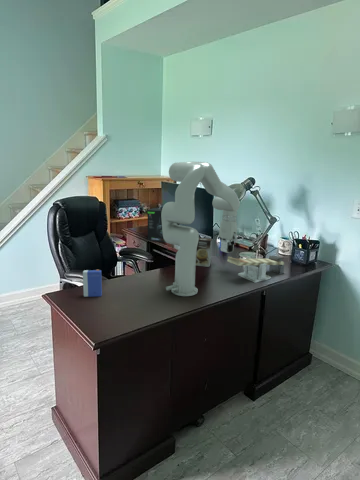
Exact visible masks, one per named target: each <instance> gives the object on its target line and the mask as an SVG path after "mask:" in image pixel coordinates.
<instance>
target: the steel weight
mask: <svg viewBox="0 0 360 480" xmlns="http://www.w3.org/2000/svg"><path fill="white" fill-rule="evenodd" d="M231 242H232V240H231ZM228 245H229V240H227V239H226V240H220V251H221V252H223V253H227V254H228V253H229V252H228ZM234 246H235V244H234V245H233V248H234Z"/></svg>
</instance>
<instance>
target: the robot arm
mask: <svg viewBox="0 0 360 480" xmlns="http://www.w3.org/2000/svg"><path fill="white" fill-rule="evenodd" d="M168 176H169V178H170V179H171V180H172V181H173V182H178V183H179V184H178V186H177V187H176V188H175V193H174V201H168V202H166V203H165V204H163V206H162V207H163V208H162V213H161V218H162V231H163V238H164V240H165V241H166V242H165V243H167V244H170V245H173V246H178V247H179V249H178V250H177V252H176V253H175V262H174V264H175V265H174V266H175V267H174V269H175V270H174V282H172V284H171V285H168V286H165V290H166V291H170V290H171V293H172V294H173V295H176V296H179V297H192V296H195V295H197V294H198V291H199V290H198V288H197V287H196V286H195V285H196V250H197V245H198V241H199V238H200V234H199V231H198V230H197V229H196V228H195V227H191V226H187V225H191V224H192V223H194V221H195V218H196V217H195V216H196V211H195V207H196V206H195V192H196V190H197V188H198V185H199V184H200V183H201V184H202V186H203V189H204V190H205V191H206V192H207V193H208V194H210V195H212V196H214V198H213V199H212V202H211V203H212V207H213V209H215V210H217V211H222V219H221V221H220V225H219V231H218V235H217V236H218V237H219V240H220V241H221V240H229V245H228V253H233V252H234V247H233V245H234V246H235V244H236V243H237V242H238V240H239V239H238V237H237V235H238V234H237V233H238V223H237V215H238V210H239V208H240V206H241V204H240V199H239V196H238V194H237V192H236V191H235V190H234V189H233V188H232V187H230V185H229V186H228V185H227V184H226V183H224V182H222V181H221V180H220V177H219V175H218V174H217V172H216V170H215V169H214V167H213V165H212V164H211V163H209V162H208V161H207V162H206V161H180V162H174V163H173V162H172V164H171V165H170V166H169V169H168ZM177 223H178V224H179V225H177ZM185 225H186V226H185ZM231 241H232V242H231Z"/></svg>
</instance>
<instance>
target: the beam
mask: <svg viewBox="0 0 360 480" xmlns="http://www.w3.org/2000/svg"><path fill="white" fill-rule="evenodd" d="M227 262H228V263H230V264H234V265H236V266H239V267H241V266H242V267H244V265H258V266H260V264H262V263H265V264H267V265H266V266H270V265H284V266H285V262H284V261H283V258H282V257H280V256H277V255H269V256H268V258H264V257H263V258H250V259H246V258H238V257H237V258H235V257H232V256H227Z"/></svg>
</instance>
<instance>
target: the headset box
mask: <svg viewBox="0 0 360 480" xmlns="http://www.w3.org/2000/svg"><path fill="white" fill-rule="evenodd" d="M162 208H163V206H162V207H161V206H160V207H158V208H157V207H151V208H149V209H147V242H160V243H167V242H166V241H165V240H164V238H163V231H162V218H161V213H162ZM177 225H180V224H178V223H177Z"/></svg>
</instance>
